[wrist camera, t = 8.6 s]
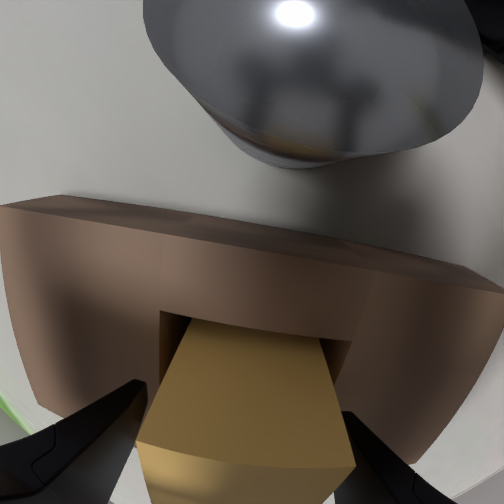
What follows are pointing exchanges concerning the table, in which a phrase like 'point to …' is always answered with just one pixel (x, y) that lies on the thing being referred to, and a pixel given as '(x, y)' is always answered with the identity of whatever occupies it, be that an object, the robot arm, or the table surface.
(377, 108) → the round peg
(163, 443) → the square peg
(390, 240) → the table surface
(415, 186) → the table surface
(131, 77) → the table surface
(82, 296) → the bore block
